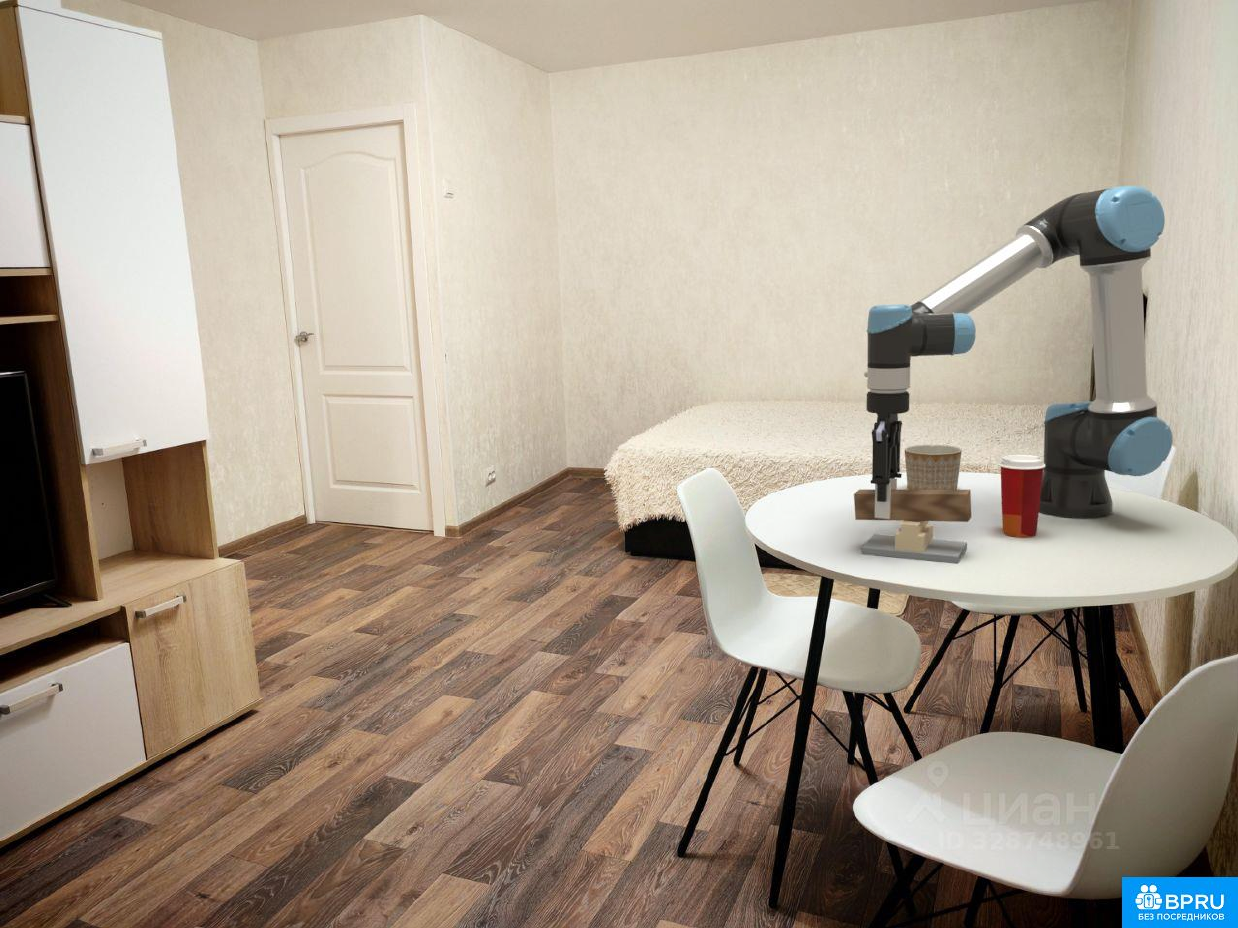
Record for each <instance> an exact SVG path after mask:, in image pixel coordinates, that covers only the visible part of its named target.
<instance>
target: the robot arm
mask: <svg viewBox="0 0 1238 928" xmlns="http://www.w3.org/2000/svg"><path fill="white" fill-rule="evenodd" d="M1164 229H1165V211H1164V208H1163V206H1162V203H1161V202H1160V200H1159V198H1158V197H1157V195H1155V194H1153V193H1152V192H1151V191H1150V190H1148V189H1147V188H1145V187H1142V186H1138V185H1126V186H1125V185H1124V186H1123V185H1121V186H1120V185H1119V186H1113V187H1111V188H1106V189H1105V188H1104V189H1101V190H1093V191H1088V192H1081V193H1076V194H1073V195H1070V196H1068V197H1066V198H1063V199H1062V200H1060V201H1058V202H1057V203H1055V204H1053V205H1051V206H1050V207H1049V208H1047V209H1045V210H1044V211H1042V212H1041V213H1039V214H1038V215H1036V216H1035V217H1033V218H1032V219H1030V220H1029V221H1027V222H1026V223H1024V224H1022V225H1021V226H1020V227H1018V229H1016V233H1015V236H1014V237H1013V238H1011V239H1009V240H1008V241H1007V242H1005V243H1003V244H1002V245H1001V246H999V247H997V248H996V249H994V250H993V251H992V252H990V253H988V254H986V256H984V257H983V258H981V259H980V260H978V261H977V262H975V263H974V264H972V265H970V266H969V267H968V268H966V269H964V270H963V271H961V272H960V273H959V274H957V275H955V277H952V278H950V279H949V280H948V281H947V282H945V283H943V284H941V286H939V287H937V288H935V290H933V291H931V292H929V294H927V295H926V296H924V297H922V298H921V299H919V300H918V301H916V302H915V303H914V304H912V305H909V304H881V305H880V304H879V305H873V306H872V307H870V309H869V311H868V317H867V329H866V333H867V364H866V365H867V371H866V372H864V373H863V377H865V378H866V379H867V381H866V387H867V389H868V390H869V391H867V393H866V406H865V407H866V411H867V412H868V413H871V414H876V416H877V418H876V422H874V424H873V425H874V426H873V429H872V430H871V438H872V440H871V441H872V459H871V460H872V464H871V465H872V469H871V470H872V473H871V476H872V477H871V479H870V484H874V488H875V489H874V490H875V518H884V519H890V513H891V490H898V489H897V488H898V478H899V479H901V478H902V473H900V471H901V466H900V465H901V440H902V439H901V436H902V426H903V422H902V420H899V415H898V414H904V413H908V412H909V410H910V394H911V393H909V391H908V389H910V388H911V358H912V357H924V356H925V357H926V356H927V357H929V356H955V355H963V354H966V353H968V352H970V350H971V349H972V348H973V346H974V344H975V342H976V341H975V340H976V325H975V322H974V320H973V318H972V317H971V316H970V315H969V313H971V312H973V311H974V310H976V309H977V308H978V307H981V306H982V305H983V304H985V303H986V302H988V301H989V300H991V299H992V298H994V297H995V296H997V295H998V294H1000V293H1002V292H1003V291H1004V290H1006V289H1007V288H1010V286H1012V285H1013V284H1015V283H1016V282H1019V281H1020V280H1022V278H1024V277H1026V276H1027V275H1028V274H1030V273H1031V272H1033V271H1035V270H1036V269H1047V268H1048V267H1051V266H1052V265H1053V264H1055V263H1057V262H1058V261H1061V260H1063V259H1067V258H1071V257H1075V256H1079V267H1080V268H1081V269H1082V270H1083V271H1084V272H1086V273H1087V274H1088V275H1089V283H1090V284H1089V286H1090V287H1089V288H1090V301H1091V302H1090V305H1091V308H1090V309H1091V323H1092V324H1091V325H1092V339H1093V340H1092V343H1093V361H1094V381H1095V385H1094V386H1095V399H1094V400H1093V401H1076V402H1074V401H1073V402H1062V403H1054V404H1053V403H1052V404H1050V405H1049V406H1048V407H1047V408H1046V411H1045V416H1044V421H1043V423H1044V434H1043V435H1044V437H1043V438H1044V439H1043V441H1044V442H1043V463H1044V464H1045V467H1044V468H1043V477H1042V486H1041V496H1040V505H1039V513H1042V514H1046V515H1050V516H1057V517H1064V518H1077V519H1082V518H1083V519H1084V518H1086V519H1087V518H1100V517H1105V516H1109V515H1111V514H1112V513H1113V505H1114V504H1113V498H1112V495H1111V493H1110V489H1109V485H1108V483H1107V482H1108V481H1107V480H1106V479H1107V478H1106V475H1105V474H1106V473H1105V472H1106V471H1107V472H1111V473H1114V474H1116V475H1119V476H1130V477H1142V476H1146V475H1149V474H1151V473H1153V472H1155V471H1156V470H1157V469H1159V468H1160V467H1161V466H1162V463H1163V462H1166V460H1167V459H1168V457H1169V455H1170V453H1171V451H1172V446H1173V432H1172V430H1171V427H1170V426H1169V425H1168V424H1167V423H1166V422H1165V421H1164V420H1163V419H1161V418H1159V417H1158V408H1157V401H1155V400H1154V399H1153V398H1152V397H1150V396H1149V395H1148V387H1147V384H1148V383H1147V366H1146V365H1147V361H1146V339H1145V317H1144V315H1145V313H1144V291H1143V271H1142V270H1143V267H1144V266H1145V264H1147V262H1148V261H1149V260H1150V259H1151V258H1152V254H1151V253H1152V252H1151V248H1152V247H1153V246H1154V245H1155V244H1156V243H1157V242H1158V241H1159V240H1160V238H1159V236H1161V235H1162V234H1163V233H1164Z"/></svg>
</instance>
